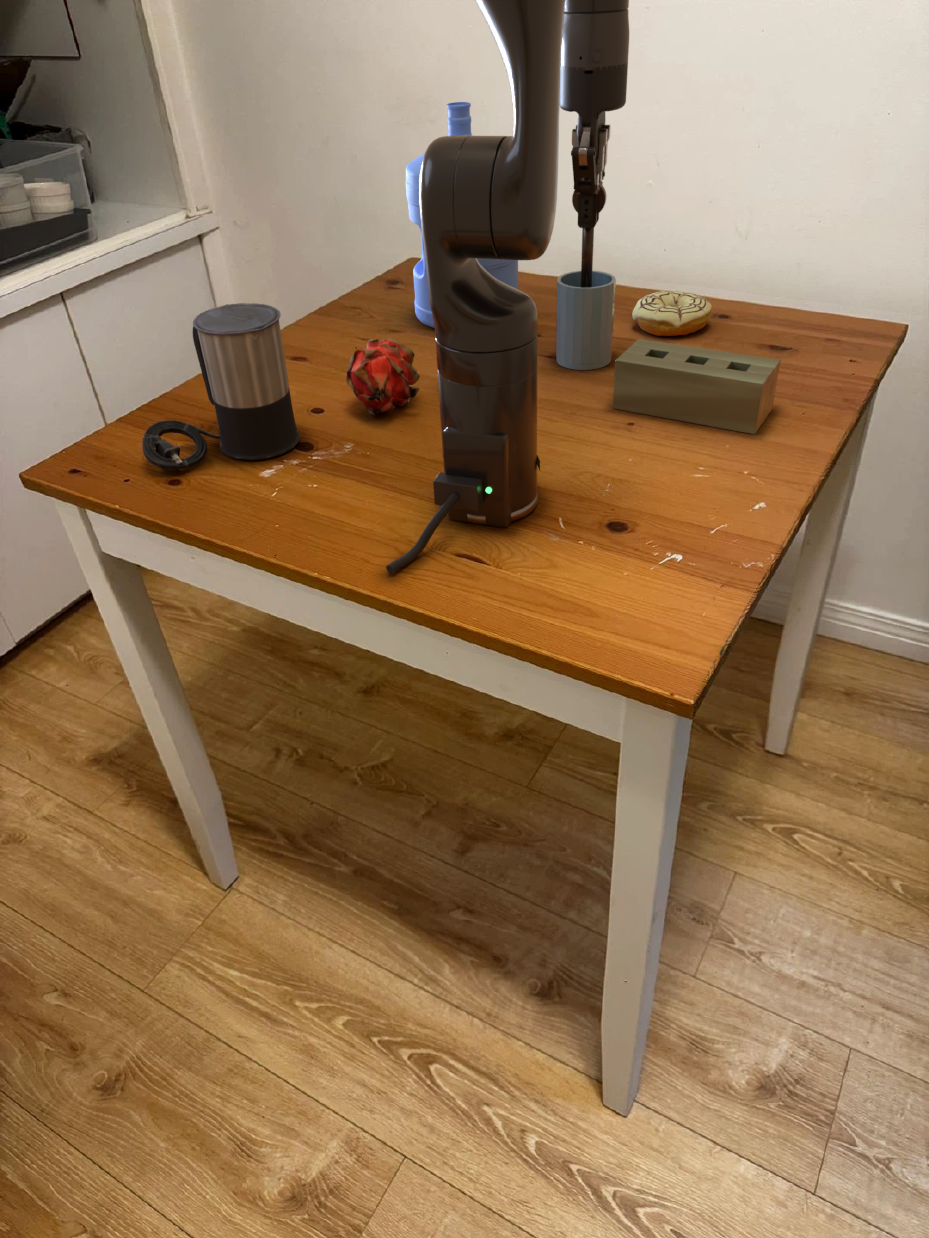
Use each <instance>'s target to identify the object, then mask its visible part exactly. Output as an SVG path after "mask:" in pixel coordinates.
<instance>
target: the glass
mask: <svg viewBox="0 0 929 1238" xmlns="http://www.w3.org/2000/svg"><path fill="white" fill-rule="evenodd" d="M616 283H617V278H616V277H615V276H614V275H613V274H611V273H609V272H605V271H601V270H592V287H581V270H575V271H570V272H566V273H563V274H561V275H559V276H558V277H557V279H556V316H555V317H556V318H555V321H556V325H555V361H556V363H557V364H558V365H559V366H561V367H563V368H565V369H569V370H575V371H592V370H597V369H598V370H599V369H601V368H604V367H606V366H608V365H609V364H611V361H612V354H613V341H614V322H615V321H614V320H615V303H616Z"/></svg>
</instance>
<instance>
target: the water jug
mask: <svg viewBox="0 0 929 1238" xmlns="http://www.w3.org/2000/svg"><path fill="white" fill-rule="evenodd" d="M471 107H472V103H471V102H469V101H456V102H455V101H454V102H449V103H447V104H446V108H447V112H448V115H447V116H448V117H447V119H446V121H447V122H446V123H447V127H448V135H447V136H473V133H472V116H471V109H470V108H471ZM424 154H425V152H423V154H421V155H419V156H417V157H416V158H414V159H413V160H411V161H410V162H409V163H408V164H407V165H406V167H405V195H406V200H407V208H408V219H409V220H410V221H411V222H412V223H413V224H415V225H417V227H418V229H419V231H420V242H421V255H422V256H421V259H420V260H419V261H418V262H417V263H416V264H415V265H414V267H413V270H412V271H413V272H412V275H413V276H412V277H413V287H414V289H413V290H414V312H415V316H416V318H417V319H418V321H419V322H421V323H422V324H423V325H425V326H427V327H430V328H432V329H435V325H434V319H433V315H432V311H431V306H430V297H429V286H428V275H427V266H426V258H425V250H424V242H423V234H422V227H421V217H420V205H419V180H420V170H421V164H422V161H423V157H424ZM477 260H478V262H479V264H480V265H481V266H482V267H483V268H484V269H485V270H486V271H487V272H488V273H489V274H491V275H492V276H493V277H495V278H496V279H498V280H499V281H501V282H503V283H505V284H507V285H509V286H511V287H513V288H515V289H517V290H519V260H503V259H501V260H500V259H478V258H477Z"/></svg>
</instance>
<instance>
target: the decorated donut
mask: <svg viewBox="0 0 929 1238" xmlns="http://www.w3.org/2000/svg"><path fill="white" fill-rule="evenodd" d="M712 305H713V304H711V303H710V301H709V299H706V298H705V297H704V296H701V295H699V294H696V293H693V292H685V291H677V290H661V291H656V292H652V293H649V294H647V295H645V296H644V297H642V298H640V299H639V300H638V301H637V302H636V304H635V306H634V308H633V310H632V313H631V314H632V319H633V320H634V322H636V323H637V325H638V326H639V327H640V329H641V330H642V331H644V332H646V333H648V334H651V335H654V336H657V337H662V336H663V337H677V336H687V335H689V334H694V333H695V332H697V331H700V330H702V329H703V328H705V326H706V325H707V323H708V322H709V319H710V318H711V316H712V309H713V306H712Z"/></svg>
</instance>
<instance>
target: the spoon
mask: <svg viewBox="0 0 929 1238" xmlns="http://www.w3.org/2000/svg"><path fill="white" fill-rule="evenodd" d="M585 181H591V180H585ZM603 185H604V184H603ZM603 185H602V184H601V183H599V192H598V200H597V214H599V215H600V213H601V212H602V211H603V210H604V208H605V205H606V203H607V191H606V188H605V187H604V186H603ZM571 203H572V207H573V209H574V210H575V212H576V213H577V214H578V195H577V193H575V191H574V190H573V193H572V199H571ZM581 229H582V232H581V233H582V234H581V262H580V263H581V265H580V271H581V287H592V271H593V268H594V267H593V265H594V244H595V243H594V241H595V239H594V238H595V227H594V228H581Z"/></svg>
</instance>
